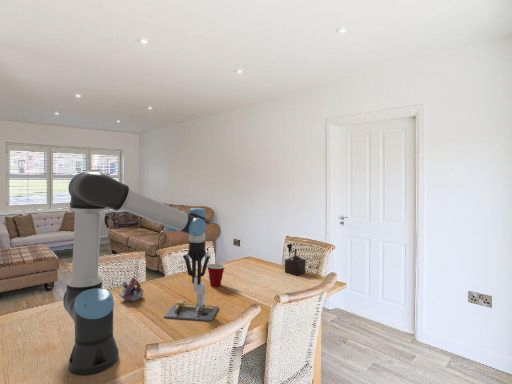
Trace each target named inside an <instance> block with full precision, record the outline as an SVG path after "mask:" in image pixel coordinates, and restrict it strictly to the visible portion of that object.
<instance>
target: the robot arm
mask: <svg viewBox="0 0 512 384" xmlns="http://www.w3.org/2000/svg"><path fill="white" fill-rule="evenodd" d="M68 193H69V196H70V209H71V211H73V212H74V228H73V229H74V230H73V245H72V246H73V249H72V250H73V251H72V267H71V269H72V271H71V273H72V274H71V278H70V279H68V281H67V282H66V290H65V292H64V294H63V298H62V299H63V300H62V302H63V307H64V310H65V311H66V312H67V314H69V316H70V318H71V319H72V320H73V323H74V345H73V348H72V350H71V353H70V355H69V357H68V358H69V359H68V370H69V371H70V372H71V373H72V374H74V375H80V376H84V375H85V376H86V375H87V374H89V375H93V373H94V374H97V372H98V373H100V371H101V372H103V371H105V369H106V370H108V369H109V368H111V367H112V366H114V365H115V364H116V363H115V362H117V361H118V360H119V356H120V355H119V351H120V350H119V347H118V346H117V342H116V340H115V337H114V305H115V302H114V301H115V300H114V296H113V293H112V292H111V291H110V290H108V289H103V279H102V277H100V276H99V264H100V262H99V261H100V247H101V246H100V244H101V243H100V242H101V228H102V227H101V225H102V223H101V222H102V213H103V212H104V211H105V210H107V209H111V210H114V211H115V212H119V211H125V212H127V213H129V214H132V215H135V216H138V217H141V218H144V219H146V220H148V221H151V222H155V223H157V224H160V225H163V226H164V229H165V230H166V231H167V232H173V233H174V232H179V233H183V234H187V235H188V240H189V242H188V252H187V253H186V254H184V255H182V258H183V260H184V262H185V266H186V267H185V268H186V270H187V274H188V276H189V277H190V276H191V283H192V284H193V292H197V284H200V283H201V282H202V277H204V276H205V274H206V271H207V269H208V267H207V265H208V263H209V260H210V259H211V255H208V254H207V252H206V229H207V222H206V220H207V214H206V209H205V208H202V207H191V208H189V211H188V212H187V213H186V212H184V211H181V210H179V209H177V208H175V207H172V206H170V205H167V204H165V203H162V202H160V201H157V200H155V199H153V198H151V197H149V196H145V195H143V194H141V193H138V192H136V191H134V190H132V189H131V188H130V186H129V185H127V184H125V183H123V182H120V181H119V180H117V179H114V178H113V177H111V176H109V175H107V174H106V173H103V172H97V171H84V172H79V173H78V174H76V175H74V176H73V177H72V178H71V180H70V181H69V183H68ZM190 259H191V260H190ZM203 259H205V260H204V262H203V265H202V260H203ZM114 363H115V364H114ZM113 364H114V365H113ZM110 366H111V367H110ZM107 368H108V369H107ZM87 376H88V375H87Z"/></svg>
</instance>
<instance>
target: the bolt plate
mask: <svg viewBox="0 0 512 384" xmlns="http://www.w3.org/2000/svg"><path fill="white" fill-rule="evenodd" d="M176 304H177V303H174V304H173V305H172V306H171V307H170V309H168V311H166V312H165V314H164V315H163V318H164V319H176V320H190V321H202V322H212V321H213V320H214V318H215V316H216V314H217V313H218V311H219V308H220V306H212V305H205V307H213V310H212V311H205V310H203V311H199V313H197V311H196V310H191V309H182V310H178V312H177V310H175V305H176ZM185 305H191V306H196V304H186V303H185Z"/></svg>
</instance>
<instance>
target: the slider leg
mask: <svg viewBox="0 0 512 384" xmlns="http://www.w3.org/2000/svg"><path fill="white" fill-rule="evenodd" d="M205 294H206V282H202V281H201V283H200V284H197V291H196V301H195V302H196V303H195V305H196V311H197V313H199V311H203V306H204V307H205V306H206V297H205V296H206V295H205Z"/></svg>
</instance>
